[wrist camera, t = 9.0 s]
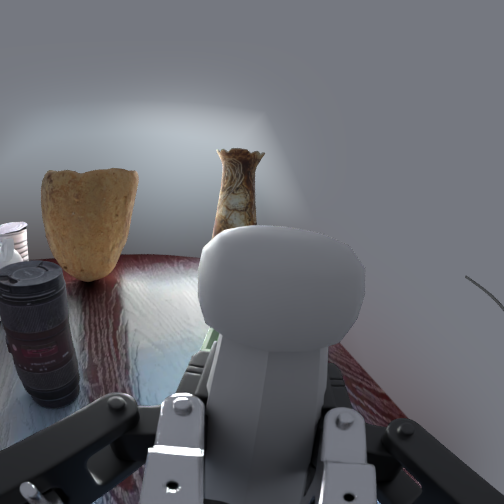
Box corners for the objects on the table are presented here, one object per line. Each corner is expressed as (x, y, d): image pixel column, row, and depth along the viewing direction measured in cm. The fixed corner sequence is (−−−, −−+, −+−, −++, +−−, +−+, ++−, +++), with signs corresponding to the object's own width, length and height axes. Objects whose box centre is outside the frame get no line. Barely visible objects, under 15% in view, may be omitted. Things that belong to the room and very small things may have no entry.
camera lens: (59, 424, 21) (19, 292, 18) (15, 394, 22) (-20, 274, 19) (98, 385, 29) (79, 266, 25) (53, 364, 30) (33, 255, 26)
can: (36, 273, 58) (32, 225, 55) (-2, 283, 48) (-8, 232, 45) (23, 263, 63) (20, 220, 60) (-11, 271, 53) (-15, 225, 50)
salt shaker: (318, 477, 12) (395, 236, 9) (283, 561, 7) (425, 288, 4) (220, 446, 14) (234, 211, 11) (164, 514, 9) (115, 230, 6)
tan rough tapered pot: (149, 270, 71) (153, 170, 66) (115, 306, 50) (115, 167, 44) (75, 262, 70) (75, 169, 64) (28, 290, 48) (22, 170, 43)
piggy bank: (-29, 320, 32) (-44, 237, 28) (11, 299, 43) (2, 225, 39) (5, 342, 31) (-14, 245, 27) (49, 314, 42) (39, 230, 38)
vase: (234, 304, 58) (248, 147, 50) (196, 289, 63) (206, 147, 56) (263, 291, 66) (278, 154, 59) (227, 279, 72) (238, 153, 65)
